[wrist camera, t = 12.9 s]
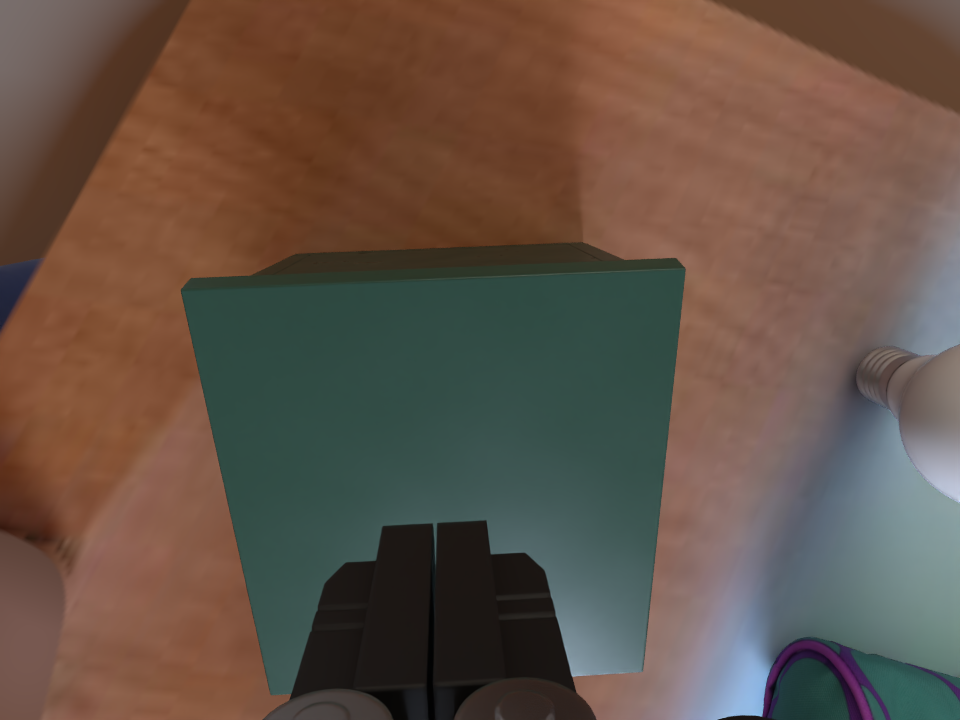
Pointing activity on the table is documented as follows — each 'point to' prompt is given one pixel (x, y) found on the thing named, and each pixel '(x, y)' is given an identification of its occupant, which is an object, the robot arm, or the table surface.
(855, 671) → the pencil case
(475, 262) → the tin
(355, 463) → the tin lid
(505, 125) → the table surface
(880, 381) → the lightbulb
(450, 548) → the robot arm
